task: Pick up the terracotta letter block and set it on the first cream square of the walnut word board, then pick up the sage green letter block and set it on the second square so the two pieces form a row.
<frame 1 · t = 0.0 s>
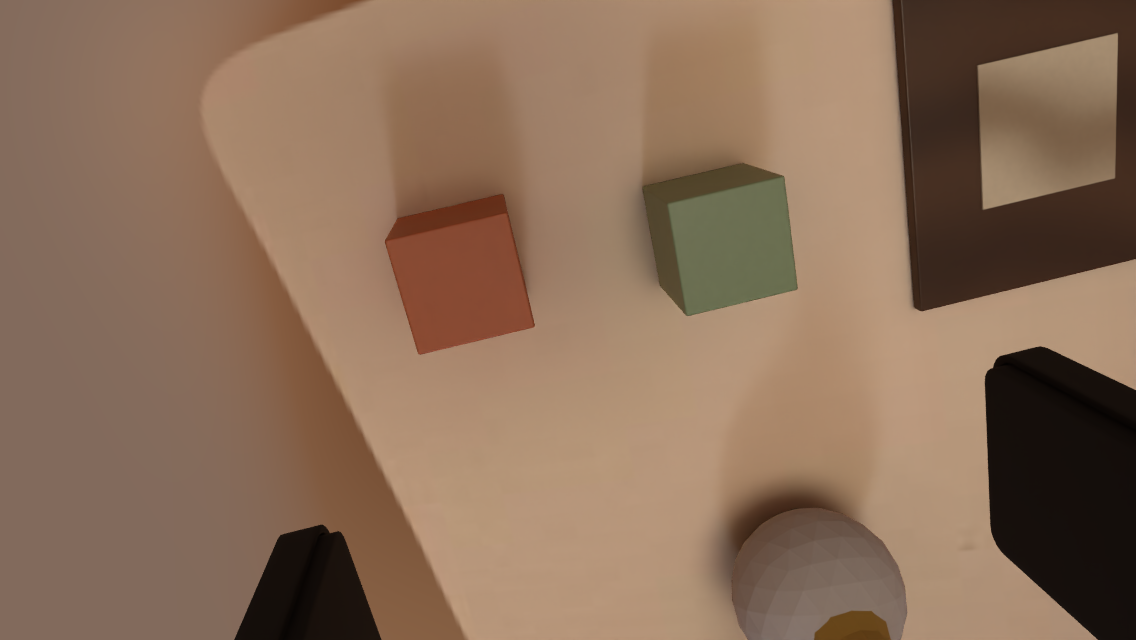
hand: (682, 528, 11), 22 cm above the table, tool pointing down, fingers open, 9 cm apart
perfume bottle: (793, 562, 38), on the table
terracotta block: (463, 257, 32), on the table
sage green block: (701, 225, 32), on the table
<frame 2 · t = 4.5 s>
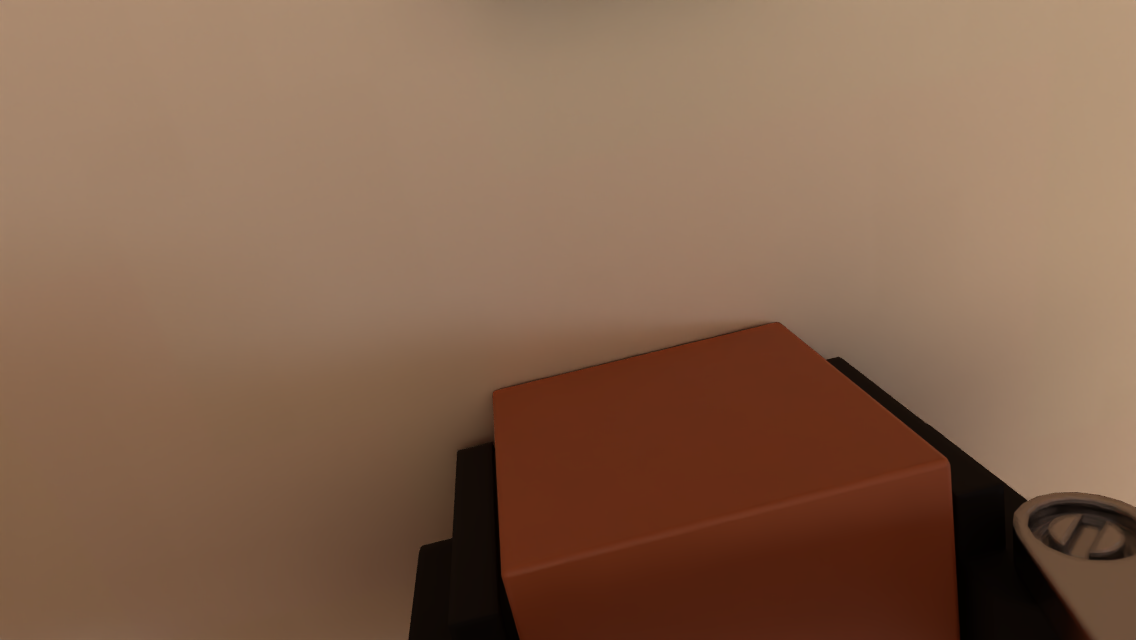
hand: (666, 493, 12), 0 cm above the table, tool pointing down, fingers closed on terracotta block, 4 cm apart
terracotta block: (661, 481, 12), on the table, touching gripper
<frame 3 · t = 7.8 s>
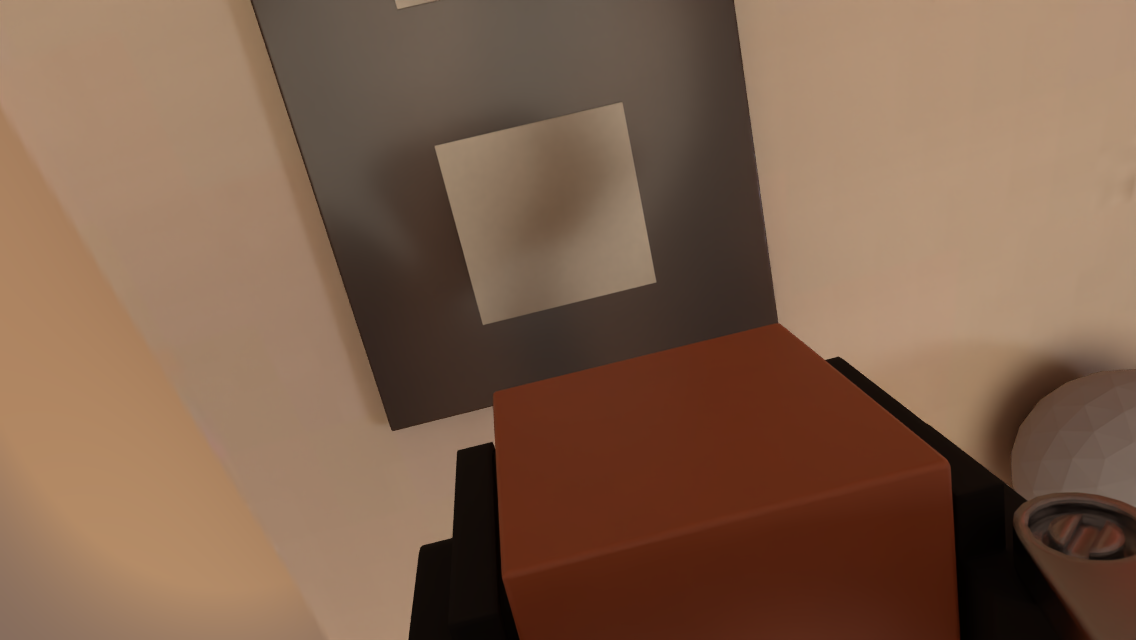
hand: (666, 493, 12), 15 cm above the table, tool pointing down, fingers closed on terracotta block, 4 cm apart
word board: (512, 57, 24), on the table
perfume bottle: (1083, 417, 30), on the table
terracotta block: (661, 482, 12), point 15 cm above the table, touching gripper
when the fingers open (1 cm above the table, at t = 11.4 s): terracotta block stays where it is, resting on word board.
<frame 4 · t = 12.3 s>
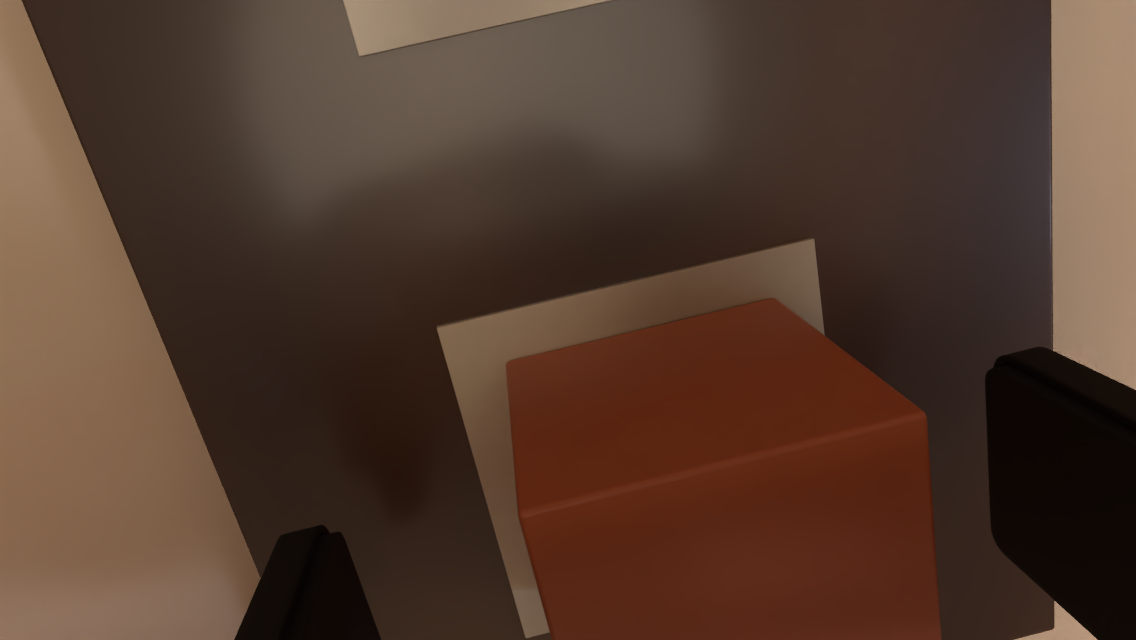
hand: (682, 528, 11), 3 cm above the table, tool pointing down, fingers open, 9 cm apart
word board: (595, 149, 12), on the table
terracotta block: (664, 449, 13), point 1 cm above the table, touching word board
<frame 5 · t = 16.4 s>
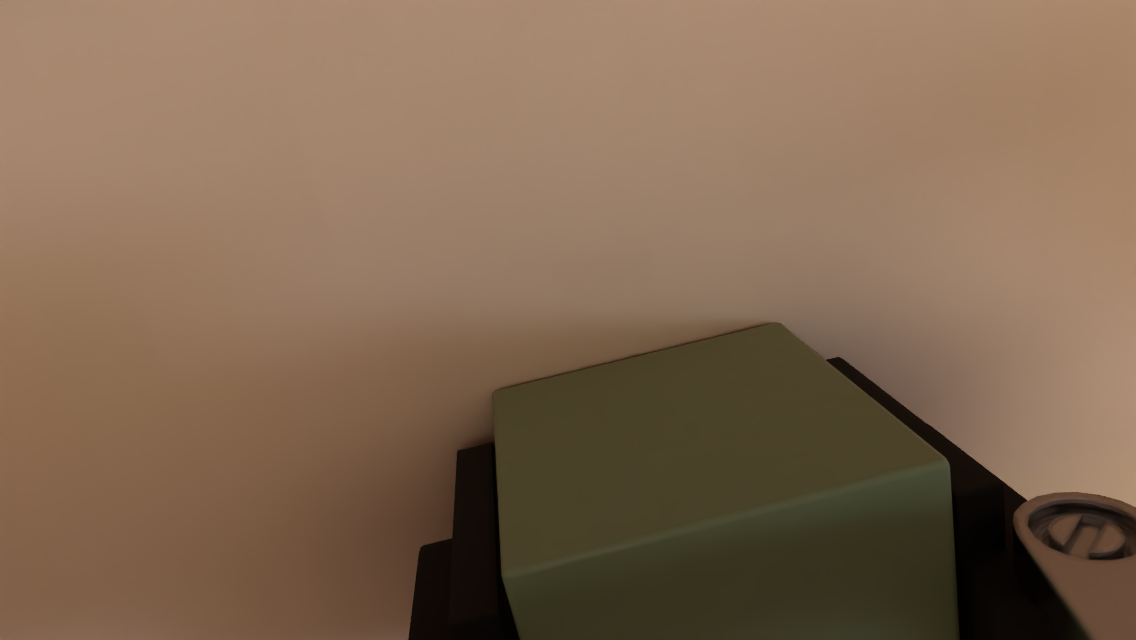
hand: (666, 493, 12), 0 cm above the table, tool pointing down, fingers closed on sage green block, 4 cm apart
sage green block: (661, 481, 12), on the table, touching gripper
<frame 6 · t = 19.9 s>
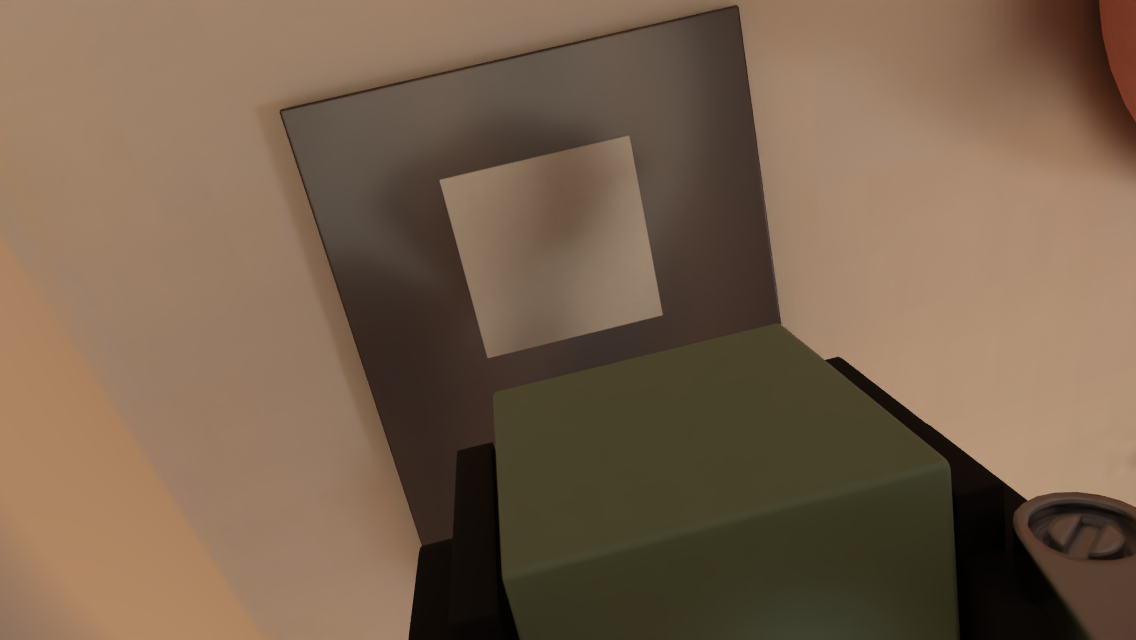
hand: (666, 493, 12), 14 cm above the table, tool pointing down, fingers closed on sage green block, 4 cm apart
word board: (585, 382, 27), on the table
sage green block: (661, 482, 12), point 14 cm above the table, touching gripper
when the fingers open (1 cm above the table, at t = 23.3 s): sage green block stays where it is, resting on word board.
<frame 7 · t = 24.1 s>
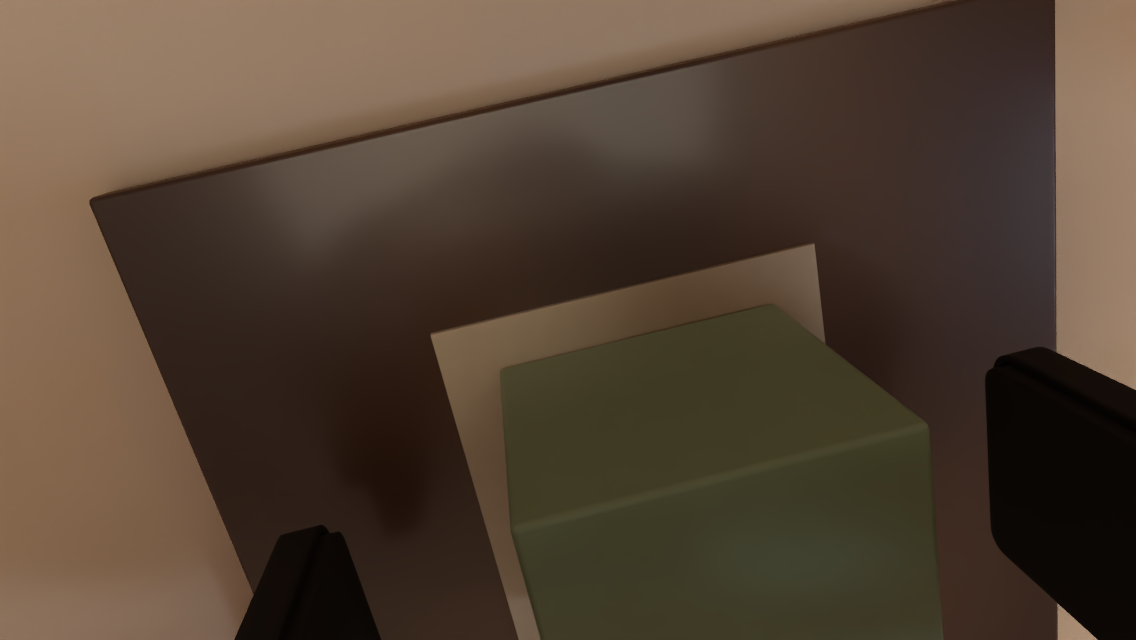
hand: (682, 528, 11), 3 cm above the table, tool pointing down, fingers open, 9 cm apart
sage green block: (661, 457, 13), point 1 cm above the table, touching word board
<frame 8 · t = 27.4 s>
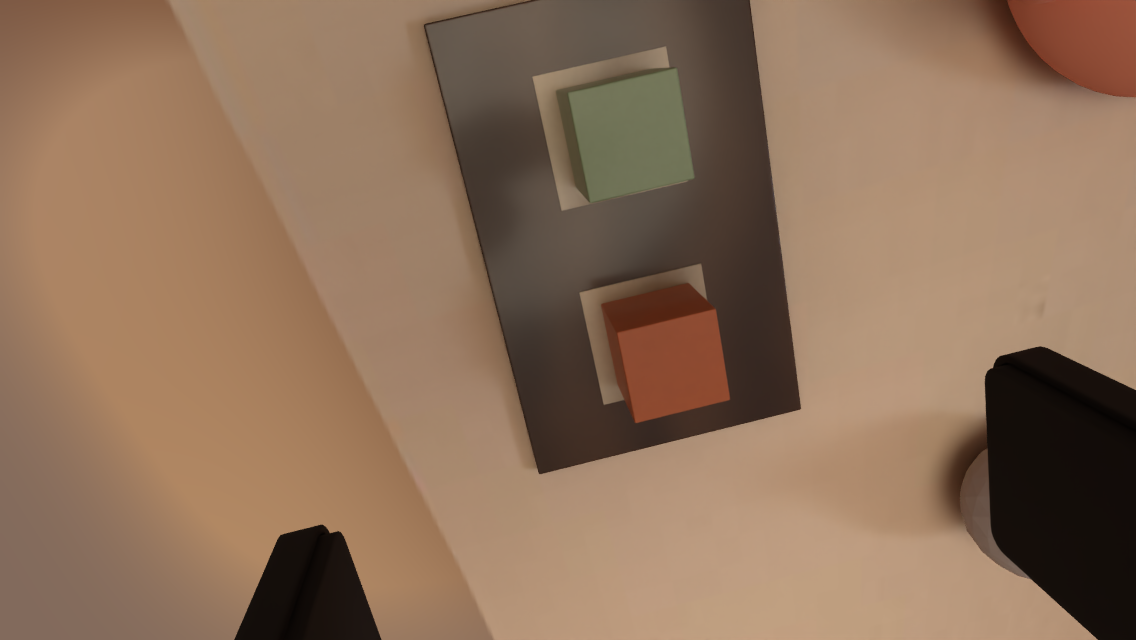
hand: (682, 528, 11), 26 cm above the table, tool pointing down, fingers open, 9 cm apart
word board: (630, 234, 36), on the table
perfume bottle: (1013, 463, 43), on the table
terracotta block: (652, 334, 37), point 1 cm above the table, touching word board
sage green block: (613, 129, 34), point 1 cm above the table, touching word board
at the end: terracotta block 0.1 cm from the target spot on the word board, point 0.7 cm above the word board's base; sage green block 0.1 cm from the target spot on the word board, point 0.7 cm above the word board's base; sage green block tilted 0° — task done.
